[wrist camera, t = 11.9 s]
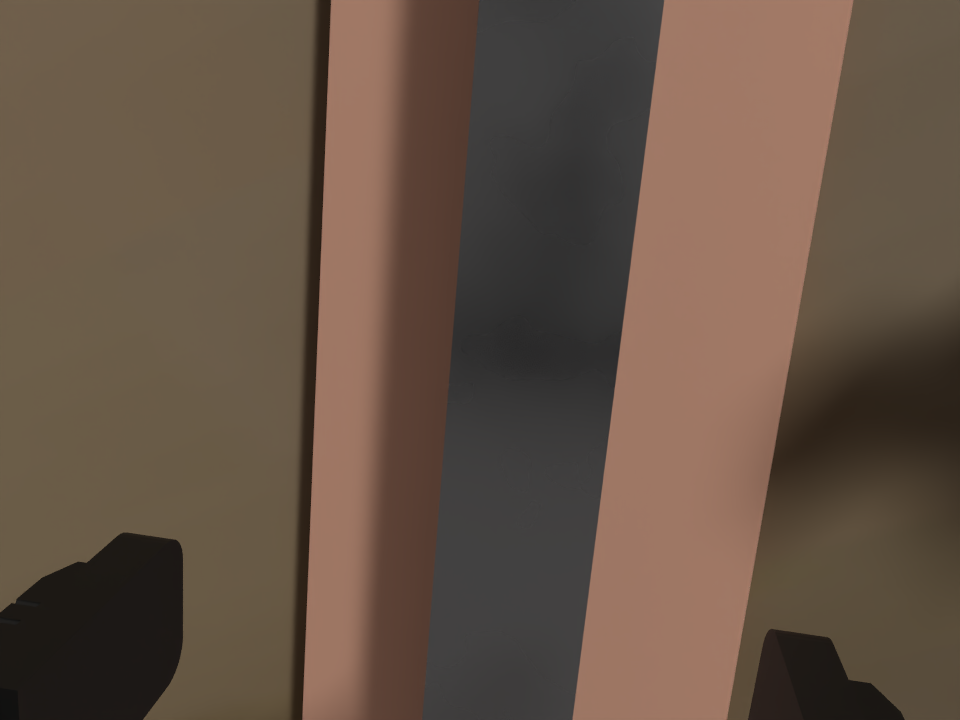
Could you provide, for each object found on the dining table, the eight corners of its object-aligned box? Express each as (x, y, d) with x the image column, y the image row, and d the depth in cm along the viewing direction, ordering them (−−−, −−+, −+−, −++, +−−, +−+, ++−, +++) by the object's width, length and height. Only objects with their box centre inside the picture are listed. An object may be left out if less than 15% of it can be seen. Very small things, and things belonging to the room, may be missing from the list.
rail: (426, 890, 23) (400, 997, 21) (515, -153, 17) (495, -209, 14) (543, 911, 23) (533, 1023, 20) (676, -144, 17) (689, -200, 14)
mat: (303, 903, 25) (294, 928, 24) (354, -264, 18) (342, -283, 17) (674, 973, 24) (677, 1001, 23) (886, -244, 17) (899, -261, 16)
